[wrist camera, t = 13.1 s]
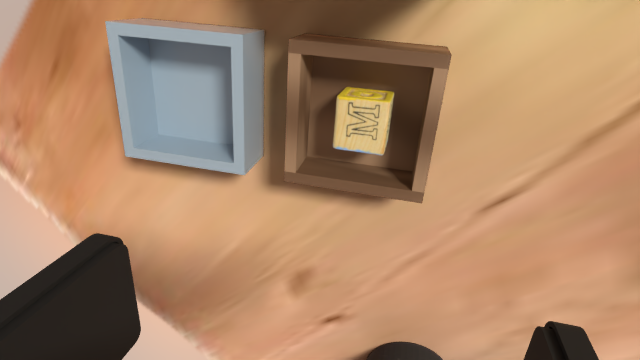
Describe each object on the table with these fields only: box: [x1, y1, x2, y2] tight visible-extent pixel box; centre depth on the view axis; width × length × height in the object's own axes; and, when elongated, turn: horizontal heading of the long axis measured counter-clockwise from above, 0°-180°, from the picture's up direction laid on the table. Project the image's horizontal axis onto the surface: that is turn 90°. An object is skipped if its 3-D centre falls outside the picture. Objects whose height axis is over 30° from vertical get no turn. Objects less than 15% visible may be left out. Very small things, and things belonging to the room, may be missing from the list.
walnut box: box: [284, 34, 451, 203], centre depth 24 cm, size 8×8×4 cm
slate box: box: [105, 18, 264, 175], centre depth 26 cm, size 8×8×4 cm
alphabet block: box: [333, 87, 394, 156], centre depth 24 cm, size 3×3×3 cm
